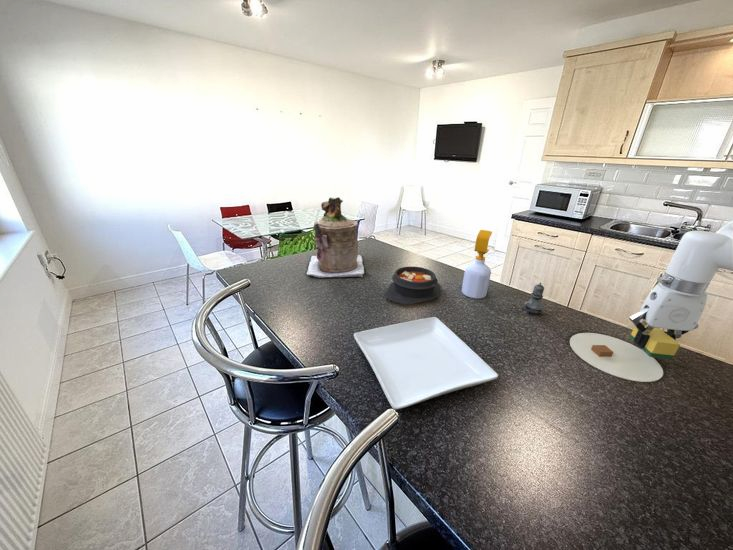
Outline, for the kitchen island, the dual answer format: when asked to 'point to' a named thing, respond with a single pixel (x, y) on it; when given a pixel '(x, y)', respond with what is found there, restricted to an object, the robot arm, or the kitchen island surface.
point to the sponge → (658, 344)
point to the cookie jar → (335, 244)
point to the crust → (602, 350)
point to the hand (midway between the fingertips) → (650, 345)
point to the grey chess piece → (535, 301)
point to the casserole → (413, 285)
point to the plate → (617, 357)
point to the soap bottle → (478, 269)
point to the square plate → (421, 361)
